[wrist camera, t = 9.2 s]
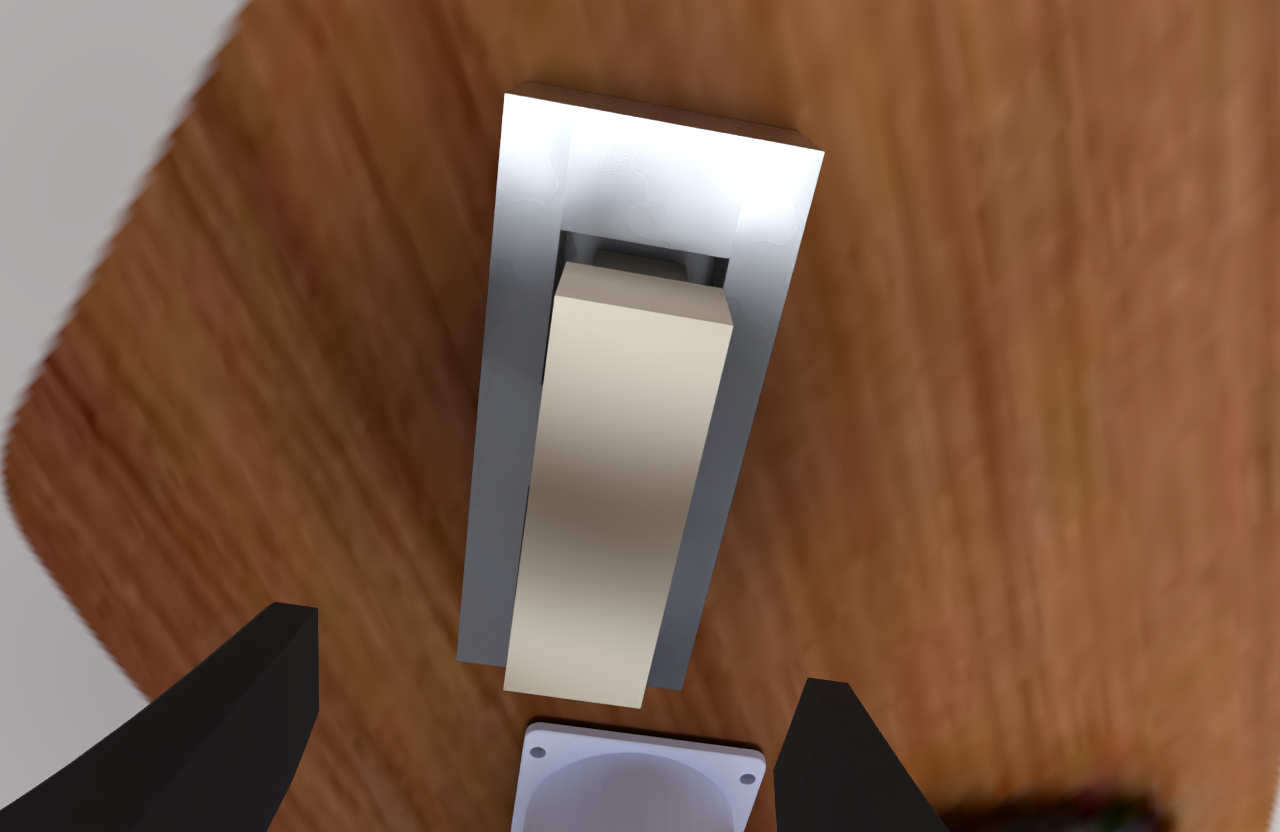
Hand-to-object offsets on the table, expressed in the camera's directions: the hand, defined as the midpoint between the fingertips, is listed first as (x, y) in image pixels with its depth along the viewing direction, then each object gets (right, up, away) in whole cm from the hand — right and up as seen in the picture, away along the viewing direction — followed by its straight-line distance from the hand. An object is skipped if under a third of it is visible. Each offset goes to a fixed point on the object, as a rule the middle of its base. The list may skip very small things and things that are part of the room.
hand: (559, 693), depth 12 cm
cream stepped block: (+1, +4, +8) cm, 9 cm away
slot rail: (+1, +5, +9) cm, 10 cm away
